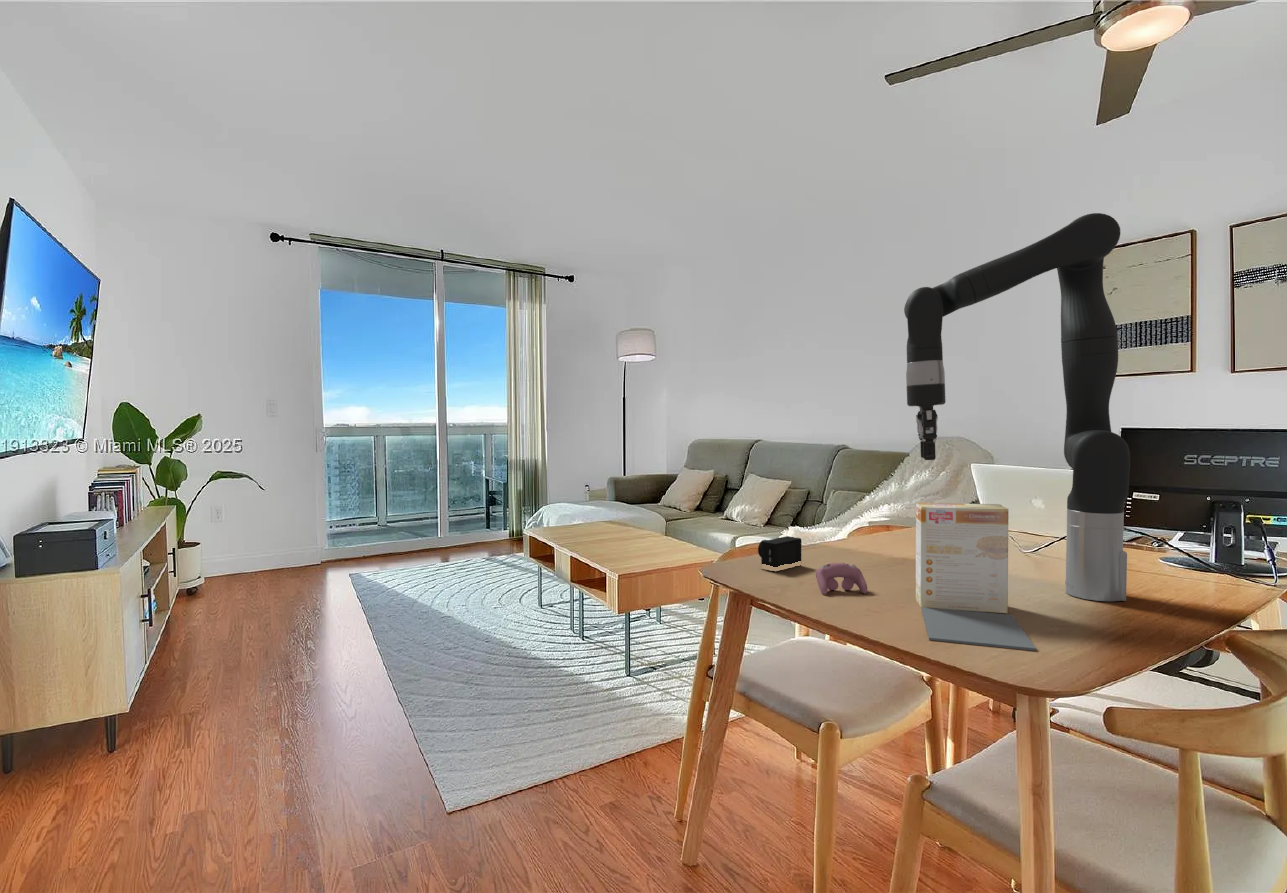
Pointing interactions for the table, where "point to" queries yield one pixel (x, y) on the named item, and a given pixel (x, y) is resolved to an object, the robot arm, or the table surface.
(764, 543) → the digital camera
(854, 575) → the video game controller
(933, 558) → the coffeecake box
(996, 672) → the table surface
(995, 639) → the mat
